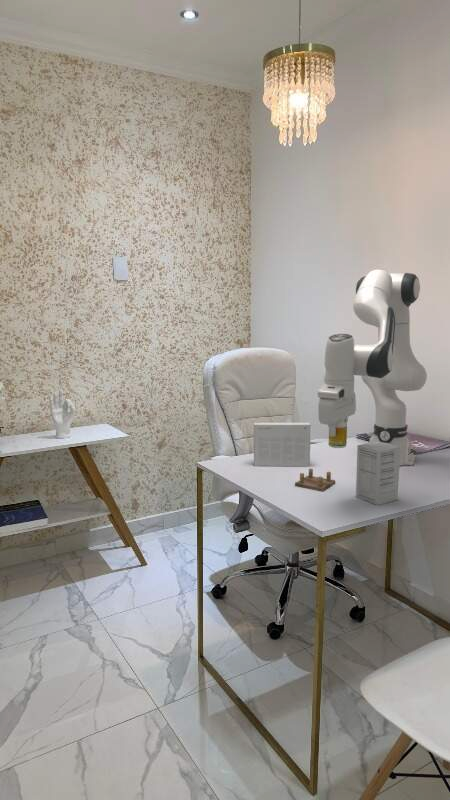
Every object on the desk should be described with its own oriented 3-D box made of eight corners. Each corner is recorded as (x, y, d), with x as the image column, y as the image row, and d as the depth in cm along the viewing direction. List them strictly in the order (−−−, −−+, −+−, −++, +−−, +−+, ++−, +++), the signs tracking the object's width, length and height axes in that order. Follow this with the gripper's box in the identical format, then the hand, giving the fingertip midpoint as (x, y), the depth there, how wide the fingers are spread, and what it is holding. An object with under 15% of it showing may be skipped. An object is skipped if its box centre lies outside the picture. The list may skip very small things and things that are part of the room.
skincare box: (308, 462, 212) (309, 422, 210) (310, 466, 207) (311, 425, 204) (253, 462, 213) (253, 421, 210) (253, 466, 207) (254, 424, 205)
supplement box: (398, 500, 171) (401, 446, 168) (378, 505, 166) (380, 451, 163) (375, 491, 179) (377, 440, 176) (354, 496, 174) (356, 444, 171)
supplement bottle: (346, 448, 167) (347, 417, 165) (328, 448, 168) (329, 416, 166) (346, 444, 172) (347, 413, 170) (328, 443, 173) (329, 413, 171)
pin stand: (308, 478, 193) (308, 467, 192) (335, 483, 187) (335, 471, 187) (294, 485, 185) (295, 474, 184) (322, 491, 179) (323, 479, 178)
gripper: (342, 383, 177) (341, 426, 179) (314, 392, 160) (313, 439, 163) (361, 385, 173) (360, 428, 176) (335, 394, 157) (334, 441, 159)
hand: (337, 433), depth 169 cm, fingers closed on supplement bottle, 5 cm apart
